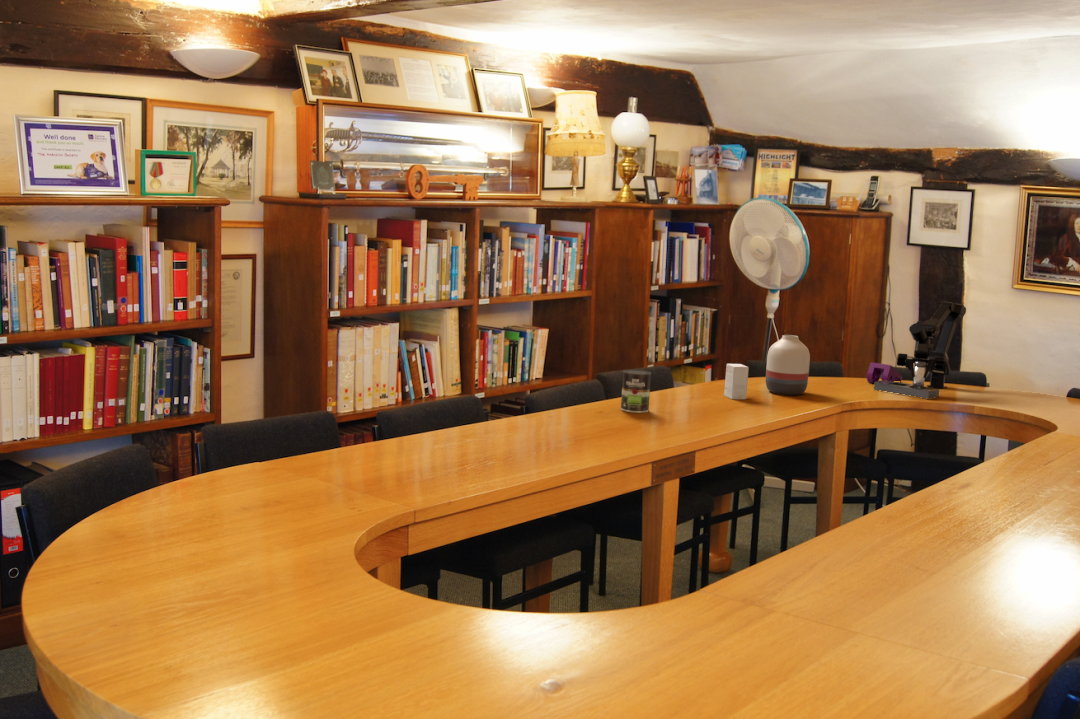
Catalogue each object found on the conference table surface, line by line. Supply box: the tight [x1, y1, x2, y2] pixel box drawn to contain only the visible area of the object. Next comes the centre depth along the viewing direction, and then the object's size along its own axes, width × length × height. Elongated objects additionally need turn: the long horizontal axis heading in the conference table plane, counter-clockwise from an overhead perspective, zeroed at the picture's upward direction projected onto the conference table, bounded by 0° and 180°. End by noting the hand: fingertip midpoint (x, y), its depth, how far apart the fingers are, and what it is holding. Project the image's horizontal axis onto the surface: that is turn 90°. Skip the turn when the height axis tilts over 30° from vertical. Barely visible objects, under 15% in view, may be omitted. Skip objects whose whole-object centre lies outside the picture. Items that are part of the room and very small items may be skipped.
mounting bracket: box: [866, 362, 903, 384], centre depth 427 cm, size 9×8×18 cm
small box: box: [723, 363, 749, 400], centre depth 376 cm, size 8×6×13 cm
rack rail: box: [873, 380, 940, 400], centre depth 403 cm, size 10×24×4 cm, turn 43°
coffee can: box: [620, 369, 652, 414], centre depth 344 cm, size 10×10×14 cm
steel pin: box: [912, 361, 927, 389], centre depth 398 cm, size 4×4×13 cm
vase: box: [765, 334, 811, 396], centre depth 391 cm, size 17×17×24 cm
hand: (919, 377), depth 397 cm, fingers closed on steel pin, 4 cm apart
